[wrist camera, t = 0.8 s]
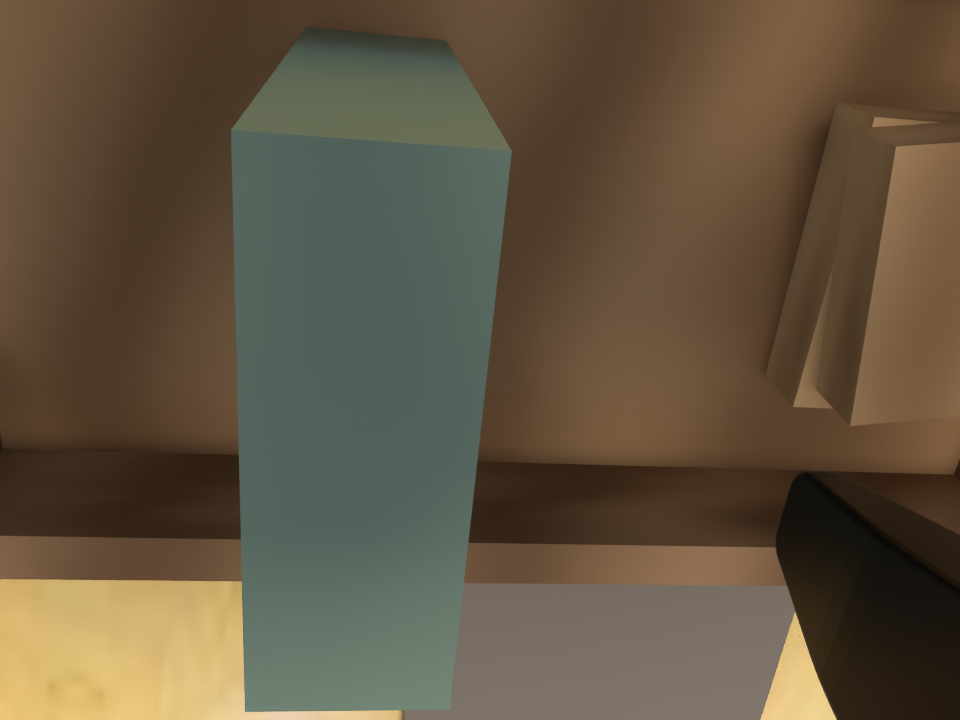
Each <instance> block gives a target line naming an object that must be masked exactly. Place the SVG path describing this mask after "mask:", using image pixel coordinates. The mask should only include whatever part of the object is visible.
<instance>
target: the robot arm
mask: <svg viewBox="0 0 960 720" xmlns="http://www.w3.org/2000/svg"><path fill="white" fill-rule="evenodd" d="M776 553H777V557H778V561H779V564H780V567H781V570H782V573H783V576H784V579H785V582H786V585H787V588H788V591H789V594H790V597H791V600H792V603H793V606H794V609H795V612H796V615H797V618H798V621H799V624H800V626H801V629H802V632H803V635H804V638H805V641H806V644H807V647H808V650H809V653H810V656H811V659H812V662H813V665H814V667H815V670H816V673H817V675H818V678H819V681H820V683H821V685H822V688H823V690H824V692H825V695H826V697H827V699H828V702H829V704H830V706H831V708H832V710H833V713H834V715H835V717H836V719H837V720H960V534H958V533H956V532H954V531H952V530H950V529H948V528H946V527H944V526H942V525H940V524H938V523H936V522H934V521H932V520H931V519H929V518H927V517H925V516H923V515H921V514H919V513H917V512H915V511H913V510H911V509H909V508H907V507H905V506H903V505H901V504H899V503H897V502H895V501H893V500H891V499H889V498H887V497H885V496H884V495H882V494H880V493H878V492H876V491H874V490H872V489H870V488H868V487H866V486H864V485H862V484H860V483H858V482H856V481H854V480H852V479H850V478H848V477H846V476H844V475H842V474H840V473H838V472H833V471H801V472H800V473H798V474H797V475H796V476H795V477H794V479H793V480H792V483H791V485H790V488H789V492H788V495H787V499H786V502H785V505H784V509H783V512H782V516H781V519H780V523H779V526H778V529H777V534H776Z"/></svg>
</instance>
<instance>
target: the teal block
mask: <svg viewBox="0 0 960 720" xmlns="http://www.w3.org/2000/svg"><path fill="white" fill-rule="evenodd" d="M231 148H232V190H233V231H234V273H235V314H236V355H237V397H238V438H239V479H240V521H241V562H242V603H243V645H244V686H245V712H264V711H362V710H450V703H451V694H452V685H453V676H454V667H455V658H456V649H457V640H458V631H459V622H460V613H461V604H462V595H463V586H464V577H465V568H466V559H467V550H468V541H469V532H470V523H471V514H472V505H473V496H474V487H475V478H476V469H477V460H478V451H479V442H480V433H481V424H482V415H483V406H484V397H485V388H486V379H487V370H488V361H489V352H490V343H491V334H492V325H493V316H494V307H495V298H496V289H497V280H498V271H499V262H500V253H501V244H502V235H503V226H504V217H505V208H506V199H507V190H508V181H509V172H510V163H511V154H512V150H511V149H510V147H509V145H508V144H507V142H506V140H505V139H504V137H503V135H502V134H501V132H500V130H499V128H498V127H497V125H496V123H495V122H494V120H493V118H492V117H491V115H490V113H489V112H488V110H487V108H486V107H485V105H484V103H483V102H482V100H481V98H480V96H479V95H478V93H477V91H476V90H475V88H474V86H473V85H472V83H471V81H470V80H469V78H468V76H467V75H466V73H465V71H464V70H463V68H462V66H461V64H460V63H459V61H458V59H457V58H456V56H455V54H454V53H453V51H452V49H451V48H450V46H449V44H448V43H447V41H446V40H441V39H430V38H419V37H408V36H397V35H386V34H375V33H364V32H353V31H342V30H331V29H320V28H309V27H307V28H306V29H305V30H304V32H303V33H302V34H301V36H300V37H299V38H298V40H297V41H296V42H295V44H294V45H293V47H292V48H291V49H290V51H289V52H288V53H287V55H286V56H285V57H284V59H283V60H282V61H281V63H280V64H279V66H278V67H277V68H276V70H275V71H274V72H273V74H272V75H271V76H270V78H269V79H268V80H267V82H266V83H265V85H264V86H263V87H262V89H261V90H260V91H259V93H258V94H257V95H256V97H255V98H254V99H253V101H252V102H251V104H250V105H249V106H248V108H247V109H246V110H245V112H244V113H243V114H242V116H241V117H240V118H239V120H238V121H237V123H236V124H235V125H234V127H233V128H232V129H231Z"/></svg>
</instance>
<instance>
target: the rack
mask: <svg viewBox="0 0 960 720" xmlns="http://www.w3.org/2000/svg"><path fill="white" fill-rule="evenodd" d="M307 27H309V28H320V29H331V30H342V31H353V32H364V33H375V34H386V35H397V36H408V37H419V38H430V39H441V40H446V41H447V43H448V44H449V46H450V48H451V49H452V51H453V53H454V54H455V56H456V58H457V59H458V61H459V63H460V64H461V66H462V68H463V70H464V71H465V73H466V75H467V76H468V78H469V80H470V81H471V83H472V85H473V86H474V88H475V90H476V91H477V93H478V95H479V96H480V98H481V100H482V102H483V103H484V105H485V107H486V108H487V110H488V112H489V113H490V115H491V117H492V118H493V120H494V122H495V123H496V125H497V127H498V128H499V130H500V132H501V134H502V135H503V137H504V139H505V140H506V142H507V144H508V145H509V147H510V149H511V150H512V154H511V163H510V172H509V181H508V190H507V199H506V208H505V217H504V226H503V235H502V244H501V253H500V262H499V271H498V280H497V289H496V298H495V307H494V316H493V325H492V334H491V343H490V352H489V361H488V370H487V379H486V388H485V397H484V406H483V415H482V424H481V433H480V442H479V451H478V460H477V469H476V478H475V487H474V496H473V505H472V514H471V523H470V532H469V541H468V550H467V559H466V568H465V577H464V583H513V584H625V585H738V586H787V585H786V582H785V579H784V576H783V573H782V570H781V567H780V564H779V561H778V557H777V553H776V534H777V529H778V526H779V523H780V519H781V516H782V512H783V509H784V505H785V502H786V499H787V495H788V492H789V488H790V485H791V483H792V480H793V479H794V477H795V476H796V475H797V474H798V473H800V472H801V471H833V472H838V473H840V474H842V475H844V476H846V477H848V478H850V479H852V480H854V481H856V482H858V483H860V484H862V485H864V486H866V487H868V488H870V489H872V490H874V491H876V492H878V493H880V494H882V495H884V496H885V497H887V498H889V499H891V500H893V501H895V502H897V503H899V504H901V505H903V506H905V507H907V508H909V509H911V510H913V511H915V512H917V513H919V514H921V515H923V516H925V517H927V518H929V519H931V520H932V521H934V522H936V523H938V524H940V525H942V526H944V527H946V528H948V529H950V530H952V531H954V532H956V533H958V534H960V416H955V417H944V418H933V419H922V420H912V421H901V422H890V423H879V424H868V425H857V426H850V425H849V424H848V423H847V422H846V421H845V420H844V419H843V418H842V417H841V416H840V415H839V414H838V413H837V412H836V411H835V410H834V409H833V408H807V407H793V406H792V405H791V404H790V403H789V402H788V400H787V399H786V398H785V397H784V396H783V395H782V394H781V392H780V391H779V390H778V389H777V388H776V387H775V385H774V384H773V383H772V382H771V381H770V380H769V378H768V377H767V376H766V375H765V374H766V370H767V367H768V363H769V359H770V355H771V351H772V347H773V344H774V340H775V336H776V332H777V328H778V325H779V321H780V317H781V313H782V309H783V305H784V302H785V298H786V294H787V290H788V286H789V283H790V279H791V275H792V271H793V267H794V263H795V260H796V256H797V252H798V248H799V244H800V241H801V237H802V233H803V229H804V225H805V221H806V218H807V214H808V210H809V206H810V202H811V199H812V195H813V191H814V187H815V183H816V179H817V176H818V172H819V168H820V164H821V160H822V157H823V153H824V149H825V145H826V141H827V137H828V134H829V130H830V126H831V122H832V118H833V114H834V111H835V107H836V103H837V102H838V103H849V104H861V105H872V106H884V107H896V108H907V109H919V110H930V111H942V112H953V113H960V0H0V579H63V580H175V581H242V562H241V521H240V479H239V438H238V397H237V355H236V314H235V273H234V231H233V190H232V148H231V129H232V128H233V127H234V125H235V124H236V123H237V121H238V120H239V118H240V117H241V116H242V114H243V113H244V112H245V110H246V109H247V108H248V106H249V105H250V104H251V102H252V101H253V99H254V98H255V97H256V95H257V94H258V93H259V91H260V90H261V89H262V87H263V86H264V85H265V83H266V82H267V80H268V79H269V78H270V76H271V75H272V74H273V72H274V71H275V70H276V68H277V67H278V66H279V64H280V63H281V61H282V60H283V59H284V57H285V56H286V55H287V53H288V52H289V51H290V49H291V48H292V47H293V45H294V44H295V42H296V41H297V40H298V38H299V37H300V36H301V34H302V33H303V32H304V30H305V29H306V28H307Z"/></svg>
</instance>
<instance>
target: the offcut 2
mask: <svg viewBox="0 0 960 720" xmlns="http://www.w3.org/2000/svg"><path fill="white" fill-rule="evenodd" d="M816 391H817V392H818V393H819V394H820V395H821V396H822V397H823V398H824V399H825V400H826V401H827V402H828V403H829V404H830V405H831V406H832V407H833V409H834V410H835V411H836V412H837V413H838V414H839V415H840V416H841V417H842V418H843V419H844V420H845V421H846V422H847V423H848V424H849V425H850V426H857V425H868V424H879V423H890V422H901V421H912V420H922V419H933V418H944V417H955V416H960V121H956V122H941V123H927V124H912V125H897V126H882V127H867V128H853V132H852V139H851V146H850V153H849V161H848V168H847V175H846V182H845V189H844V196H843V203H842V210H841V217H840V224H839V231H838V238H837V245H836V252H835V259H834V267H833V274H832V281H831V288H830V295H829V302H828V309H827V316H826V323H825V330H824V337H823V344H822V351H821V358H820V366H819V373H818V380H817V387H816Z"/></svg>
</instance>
